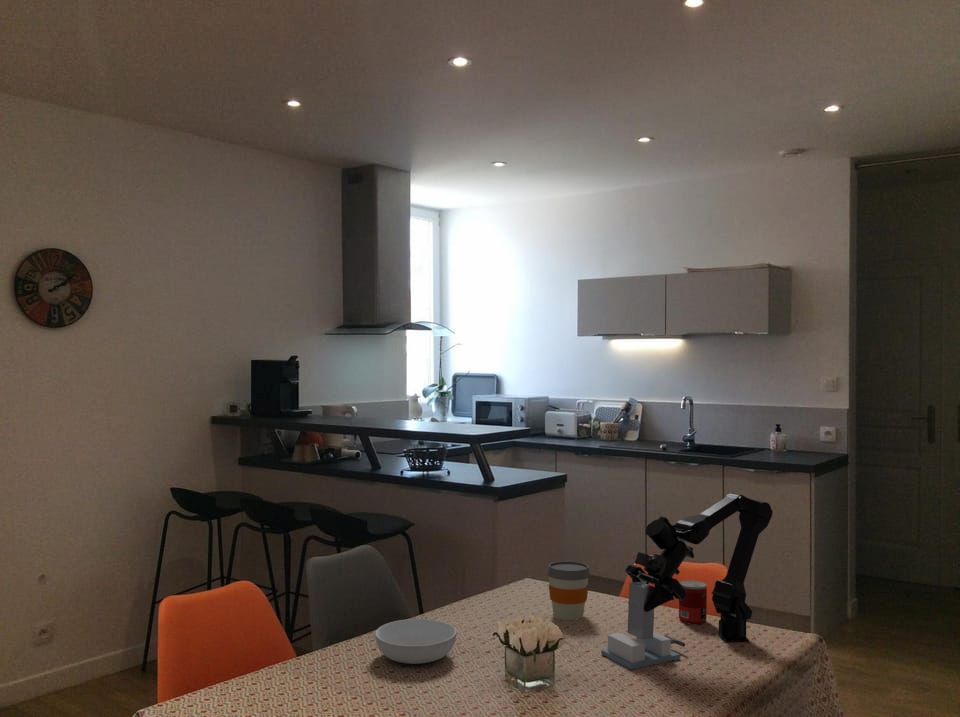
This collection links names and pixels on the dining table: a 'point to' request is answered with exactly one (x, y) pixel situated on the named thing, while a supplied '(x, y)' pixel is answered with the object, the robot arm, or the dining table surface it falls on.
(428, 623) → the serving bowl
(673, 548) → the robot arm
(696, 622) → the canned food
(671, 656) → the vise
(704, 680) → the dining table surface
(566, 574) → the reusable coffee cup
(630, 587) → the steel bar
